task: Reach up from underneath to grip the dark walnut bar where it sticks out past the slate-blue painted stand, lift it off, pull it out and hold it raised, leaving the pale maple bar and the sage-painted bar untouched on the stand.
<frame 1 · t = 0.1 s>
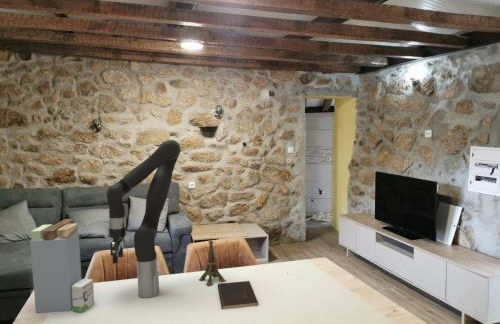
hand: (118, 260, 174), 17 cm above the table, tool pointing down, fingers open, 8 cm apart
ink box: (84, 308, 163), on the table
walnut bar: (59, 233, 168), point 32 cm above the table, touching stand
maple bar: (67, 235, 164), point 32 cm above the table, touching stand
sage bar: (42, 236, 164), point 32 cm above the table, touching stand
hardcover book: (236, 297, 172), on the table
stand: (60, 304, 167), on the table
eiffel tower: (212, 281, 190), on the table
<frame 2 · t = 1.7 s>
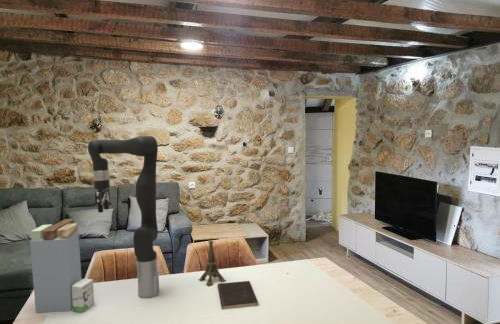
hand: (103, 210, 188), 38 cm above the table, tool pointing down, fingers open, 8 cm apart
nothing on the table moved.
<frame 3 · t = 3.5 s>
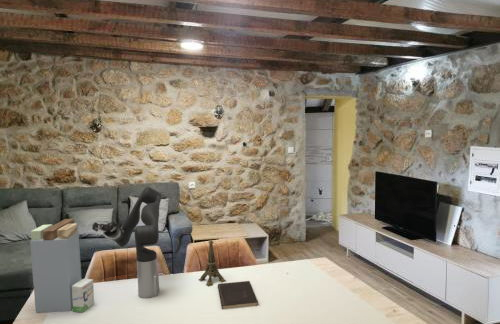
hand: (103, 223, 187), 31 cm above the table, tool pointing upward, fingers open, 8 cm apart
nothing on the table moved.
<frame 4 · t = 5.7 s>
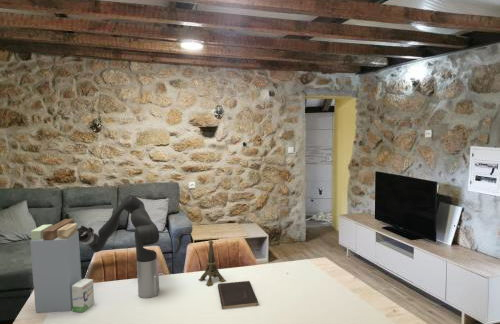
hand: (72, 227, 182), 31 cm above the table, tool pointing upward, fingers open, 8 cm apart
nothing on the table moved.
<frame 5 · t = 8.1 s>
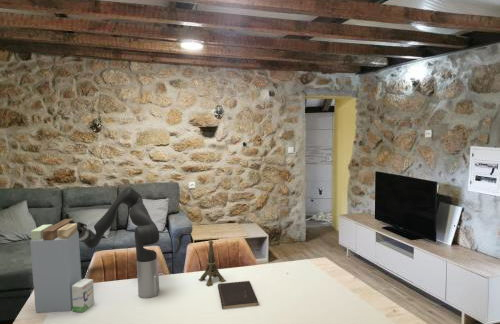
hand: (65, 222, 174), 35 cm above the table, tool pointing upward, fingers closed on walnut bar, 4 cm apart
walnut bar: (59, 233, 168), point 32 cm above the table, touching gripper, stand
everything else where it was.
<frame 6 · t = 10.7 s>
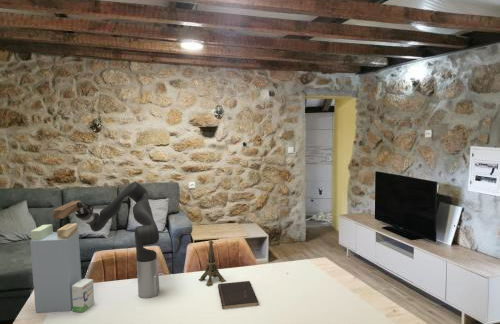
hand: (73, 203, 183), 42 cm above the table, tool pointing upward, fingers closed on walnut bar, 4 cm apart
walnut bar: (68, 213, 178), point 39 cm above the table, touching gripper
everything else where it was.
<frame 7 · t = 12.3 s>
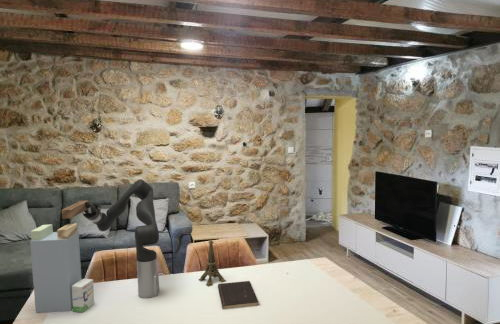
hand: (81, 203, 184), 42 cm above the table, tool pointing upward, fingers closed on walnut bar, 4 cm apart
walnut bar: (76, 213, 178), point 39 cm above the table, touching gripper
everything else where it was.
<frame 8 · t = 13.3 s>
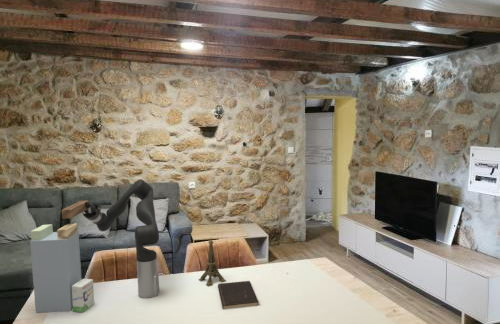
hand: (81, 203, 184), 42 cm above the table, tool pointing upward, fingers closed on walnut bar, 4 cm apart
walnut bar: (76, 213, 178), point 39 cm above the table, touching gripper
everything else where it was.
at the end: the gripper is holding walnut bar; walnut bar point 38.9 cm above the table; maple bar moved 0.0 cm from its start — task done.
